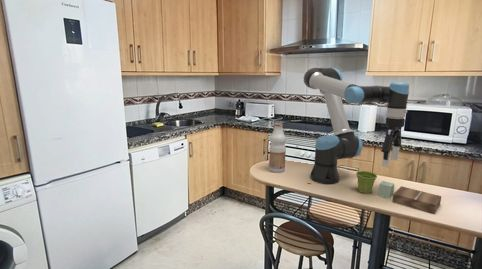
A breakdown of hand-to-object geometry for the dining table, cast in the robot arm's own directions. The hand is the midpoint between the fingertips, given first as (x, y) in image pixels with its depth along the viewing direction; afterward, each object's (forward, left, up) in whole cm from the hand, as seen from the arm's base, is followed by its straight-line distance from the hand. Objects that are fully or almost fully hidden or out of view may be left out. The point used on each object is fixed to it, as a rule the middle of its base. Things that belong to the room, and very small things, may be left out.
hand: (390, 163), depth 130 cm
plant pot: (-9, -2, -16) cm, 19 cm away
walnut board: (+12, +1, -16) cm, 20 cm away
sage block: (0, 0, -16) cm, 16 cm away
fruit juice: (-58, -8, -16) cm, 61 cm away
